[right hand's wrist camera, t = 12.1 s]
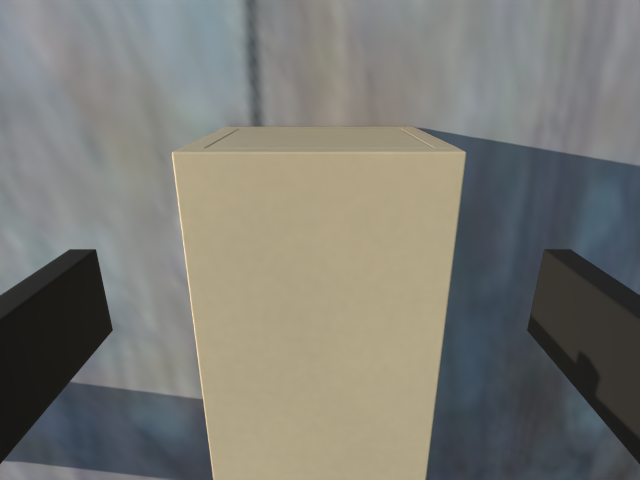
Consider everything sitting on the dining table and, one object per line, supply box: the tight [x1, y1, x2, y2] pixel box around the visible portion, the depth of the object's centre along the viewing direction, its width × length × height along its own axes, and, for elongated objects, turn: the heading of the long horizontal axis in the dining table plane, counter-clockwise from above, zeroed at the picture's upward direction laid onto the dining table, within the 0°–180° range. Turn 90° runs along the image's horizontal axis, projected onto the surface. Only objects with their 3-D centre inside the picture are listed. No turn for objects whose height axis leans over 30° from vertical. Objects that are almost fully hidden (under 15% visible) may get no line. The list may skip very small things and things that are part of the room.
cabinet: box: [172, 127, 467, 480], centre depth 24 cm, size 20×12×10 cm, turn 0°
